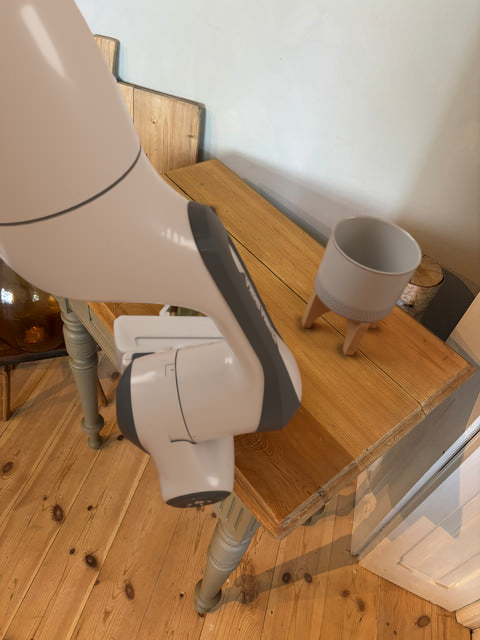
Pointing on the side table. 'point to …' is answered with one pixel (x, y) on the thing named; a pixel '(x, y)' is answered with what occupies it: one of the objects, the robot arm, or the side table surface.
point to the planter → (362, 274)
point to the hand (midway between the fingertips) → (187, 299)
